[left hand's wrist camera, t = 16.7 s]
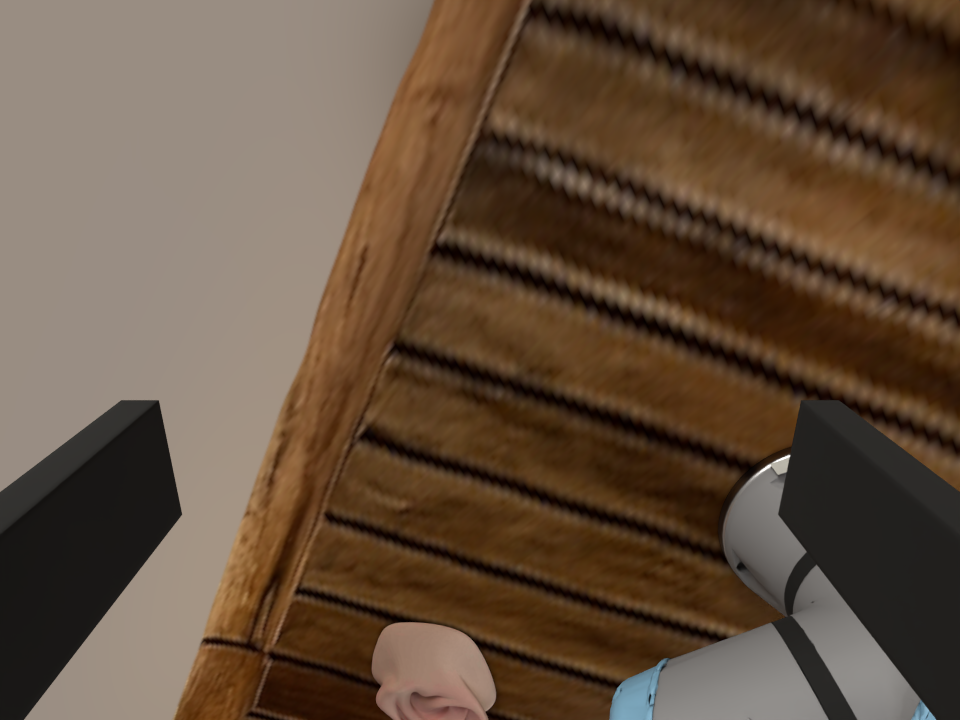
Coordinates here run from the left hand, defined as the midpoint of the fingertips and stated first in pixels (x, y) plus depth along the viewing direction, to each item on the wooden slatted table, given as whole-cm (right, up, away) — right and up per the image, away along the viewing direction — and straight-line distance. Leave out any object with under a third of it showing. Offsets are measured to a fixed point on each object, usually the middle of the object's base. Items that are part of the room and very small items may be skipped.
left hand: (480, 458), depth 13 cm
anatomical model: (-5, -28, +47) cm, 55 cm away
